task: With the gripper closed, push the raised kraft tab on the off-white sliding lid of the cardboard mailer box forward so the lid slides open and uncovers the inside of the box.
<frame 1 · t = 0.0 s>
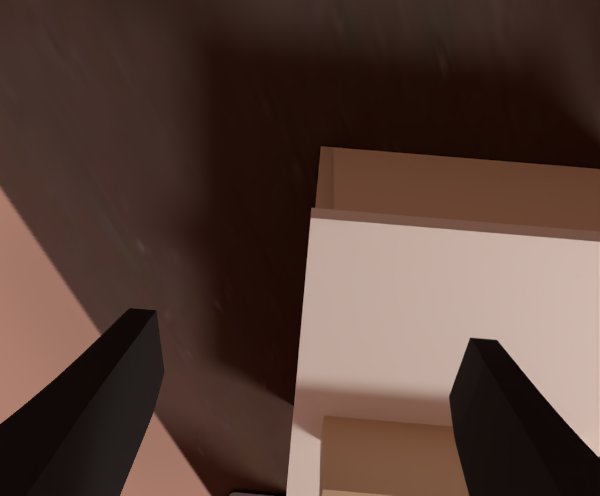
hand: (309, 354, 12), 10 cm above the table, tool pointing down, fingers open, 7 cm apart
mailer box: (430, 312, 24), on the table
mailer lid: (462, 443, 18), point 7 cm above the table, slide at 0.0 cm
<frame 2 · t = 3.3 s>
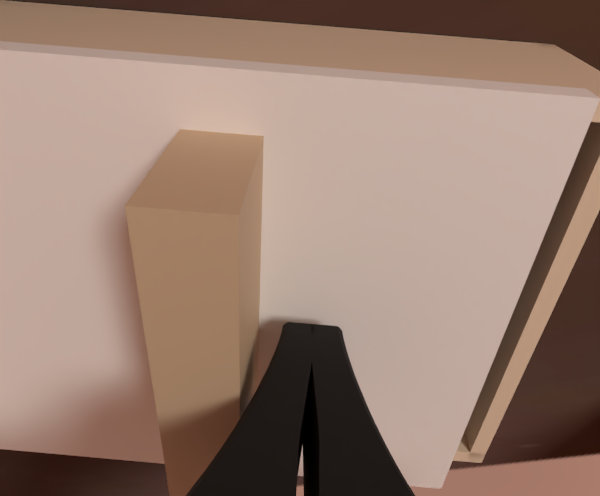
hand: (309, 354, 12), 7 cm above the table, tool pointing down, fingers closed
mailer box: (261, 209, 17), on the table
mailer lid: (151, 356, 11), point 7 cm above the table, slide at 1.7 cm, touching gripper
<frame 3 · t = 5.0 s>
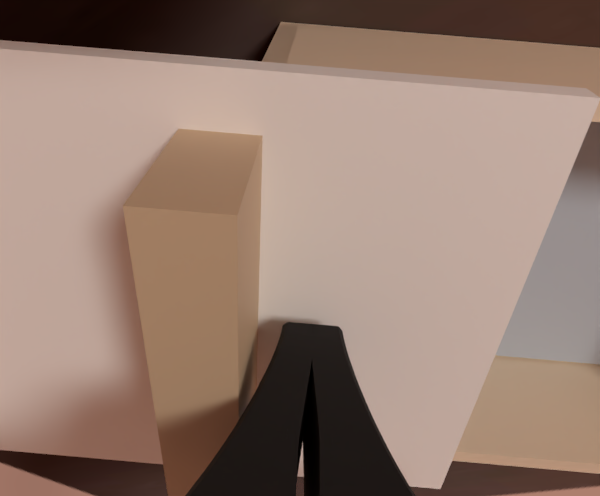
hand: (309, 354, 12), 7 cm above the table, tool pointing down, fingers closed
mailer box: (504, 229, 17), on the table
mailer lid: (150, 357, 11), point 7 cm above the table, slide at 10.1 cm, touching gripper
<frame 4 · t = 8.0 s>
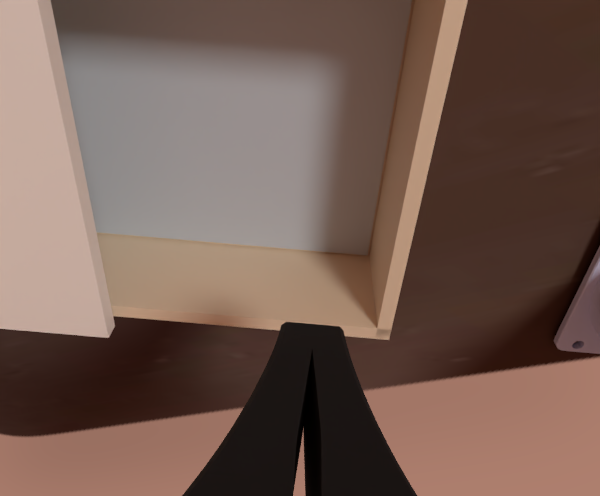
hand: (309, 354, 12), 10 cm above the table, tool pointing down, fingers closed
mailer box: (191, 113, 19), on the table
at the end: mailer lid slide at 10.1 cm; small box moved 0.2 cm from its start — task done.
